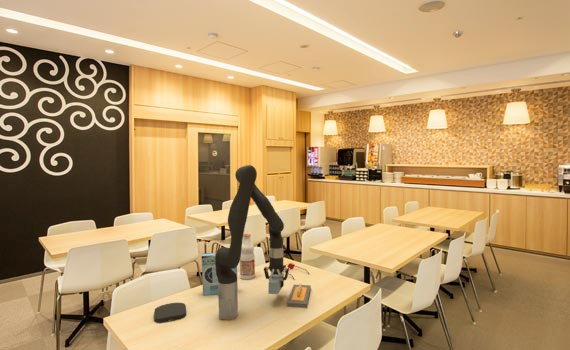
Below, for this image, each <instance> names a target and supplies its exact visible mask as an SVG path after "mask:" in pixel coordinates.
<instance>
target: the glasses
mask: <svg viewBox="0 0 570 350" xmlns="http://www.w3.org/2000/svg"><path fill="white" fill-rule="evenodd" d="M283 265H284V268H289V270H291V269H292V270H293V269H294V268H295V267H296V268H297V269H301V270H304V271H306V273H308V275H309V274H310V273H309V271H308V270H307V269H305V268H302V267H300V266H297V265H295V263H293V262H291V263H290V262H289V263H288V264H283ZM282 273H285V271H284V270H283V271H282ZM288 276H291V278H292V279H293V280H294V281H295V280H296V279H295V277H294V276H293V275H292V274H291V273H289V272H288Z"/></svg>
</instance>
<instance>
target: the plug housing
mask: <svg viewBox="0 0 570 350" xmlns="http://www.w3.org/2000/svg"><path fill="white" fill-rule="evenodd" d="M284 273H285V272H282V274H283V277H285V274H284ZM281 290H282V288H281V279H280V277H279V275H273V277H272V278H271V279H270V281H269V280H268V295H279V294H280V292H281Z"/></svg>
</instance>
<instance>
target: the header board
mask: <svg viewBox="0 0 570 350" xmlns="http://www.w3.org/2000/svg"><path fill="white" fill-rule="evenodd" d="M292 285H293V286H292V288H291V291H290V294H289V297H288V298H287V302H286V307H290V308H303V309H305V308H306V309H307V308H308V303H309V298H310V295H311V294H310V293H311V290H312V289H311V287H312V286H311V285H310V284H307V285H306V284H303V283H299V284H292Z"/></svg>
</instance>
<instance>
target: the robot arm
mask: <svg viewBox="0 0 570 350" xmlns="http://www.w3.org/2000/svg"><path fill="white" fill-rule="evenodd" d="M234 175H235V179H236V181H237V182H238V189H237V192H236V194H235V197H234V199H233V200H232V201H231V204H230V208H229V210H228V215H227V225H228V229H229V233H230V245H229V247H226V246H221V247H220V248H218V249H217V251H216V252H215V253H216V256H215V266H216V275H217V278H218V294H217V296H218V297H217V298H218V299H217V300H218V320H225V321H226V320H228V321H231V320H232V319H233V320H234V319H235V318H237V316H238V315H239V306H238V301H239V299H238V293H237V283H238V273H237V274H236V273H235V272H234V271H233V270H232V269H234V268H236V267H237V268H238V265H240V257H241V249H242V242H243V234H245V227H246V223H247V219H248V214H249V208H250V203H251V199H252V201H253V203H254V204H255V205H256V207H257V209H258V210H259V212H260V214H261V215H262V217H263V218H264V219H265V220H266V222H267V223H268V233H269V234H268V235H269V251H268V253H269V254H268V255H269V257H268V258H269V259H268V260H269V263H268V266H265V267H264V268H263V272H264V276H265V279H266V280H268V282H269V281H270V279H271V278H272V277H273V275H279V277H280V279H281V289H282V288H283V287H284V286H285V285H284V284H285V281H287V279H288V276H289V274H288V273H289V272H290V268H289V267H286V268H284V265H285V264H284V254H285V253H284V241H283V236H282V232H283V230H284V229H285V224H284V222H283V220H282V218H281V217H280V216H279V214H278V213H277V212H276V210H275V208H274V206H273V204H272V203H271V201H270V199H268V197H267V196H266V195H265V194H264V193H263V192H262V191H261V190H260V189H259V188H258V186H257V185H256V182H257V181H256V180H257V178H258V177H257V175H258V174H257V169H256V168H255V167H254V166H253V165H252V164H247V165H244V166H240V167H238V169H236V171H235V174H234ZM283 270H284V273H285V274H284V277H283V274H282V273H283V272H282V271H283ZM269 271H270V275H269Z"/></svg>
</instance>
